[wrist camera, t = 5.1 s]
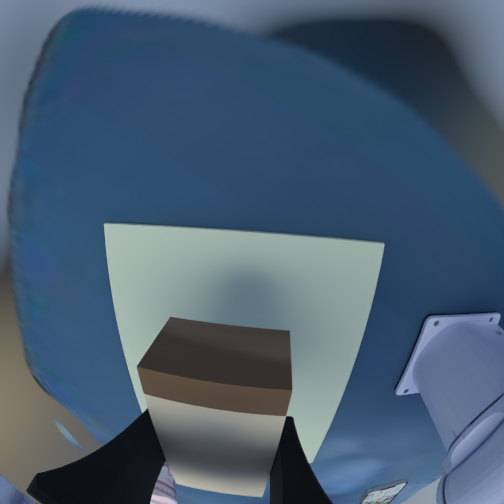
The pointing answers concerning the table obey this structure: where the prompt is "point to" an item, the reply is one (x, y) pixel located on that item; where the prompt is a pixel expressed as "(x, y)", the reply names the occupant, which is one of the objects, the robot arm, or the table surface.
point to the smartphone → (383, 493)
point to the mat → (250, 300)
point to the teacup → (164, 488)
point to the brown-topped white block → (218, 402)
